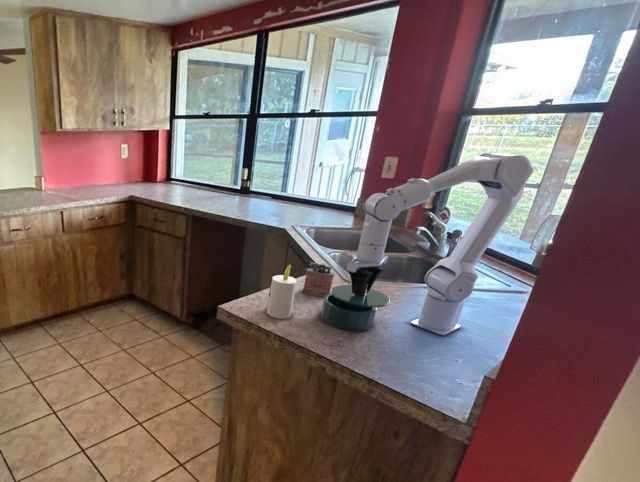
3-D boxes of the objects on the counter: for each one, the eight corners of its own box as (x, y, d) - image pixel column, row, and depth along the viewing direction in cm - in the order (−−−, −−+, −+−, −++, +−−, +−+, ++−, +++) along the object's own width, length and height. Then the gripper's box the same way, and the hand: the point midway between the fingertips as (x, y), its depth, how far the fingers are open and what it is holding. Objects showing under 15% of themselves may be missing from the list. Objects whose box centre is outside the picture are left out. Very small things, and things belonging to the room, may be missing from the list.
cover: (349, 285, 115) (353, 270, 113) (399, 302, 104) (404, 286, 102) (319, 294, 108) (322, 278, 107) (369, 314, 98) (373, 296, 96)
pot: (338, 306, 119) (342, 289, 117) (381, 324, 109) (386, 305, 107) (311, 316, 113) (314, 298, 111) (353, 335, 103) (358, 316, 101)
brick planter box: (330, 294, 127) (337, 264, 123) (328, 298, 124) (335, 267, 121) (303, 289, 131) (309, 260, 127) (301, 292, 128) (306, 262, 125)
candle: (266, 307, 118) (274, 258, 112) (290, 310, 116) (299, 261, 110) (265, 316, 113) (273, 265, 107) (290, 320, 110) (299, 268, 105)
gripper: (373, 235, 107) (361, 282, 112) (340, 242, 100) (329, 292, 105) (401, 241, 101) (387, 291, 107) (367, 250, 95) (354, 302, 100)
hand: (360, 292), depth 106 cm, fingers closed on cover, 2 cm apart
